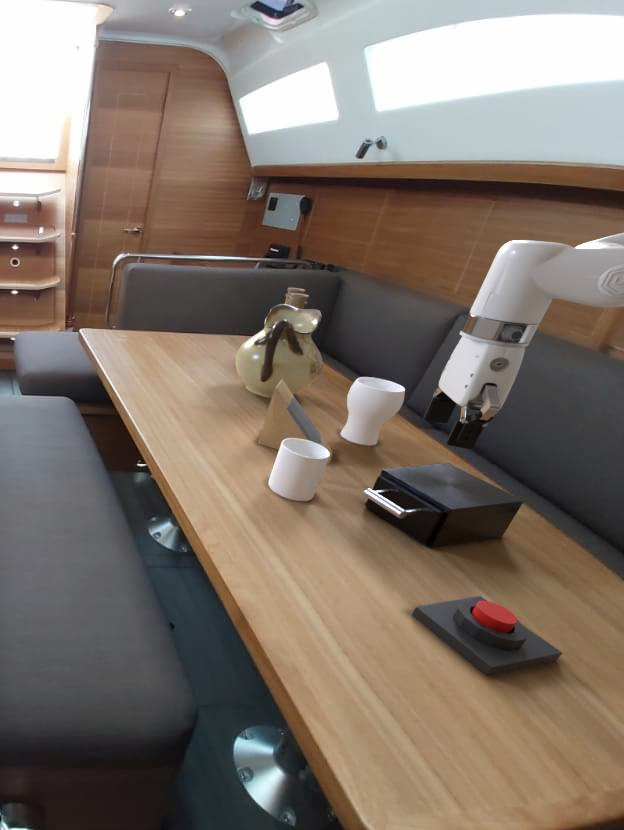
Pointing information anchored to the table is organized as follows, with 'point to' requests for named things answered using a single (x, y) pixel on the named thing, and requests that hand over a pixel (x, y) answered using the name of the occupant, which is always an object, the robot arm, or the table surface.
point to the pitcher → (281, 352)
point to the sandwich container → (288, 421)
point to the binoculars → (296, 298)
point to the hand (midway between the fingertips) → (445, 433)
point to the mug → (298, 469)
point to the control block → (484, 638)
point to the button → (494, 616)
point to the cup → (371, 408)
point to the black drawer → (404, 509)
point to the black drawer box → (459, 502)
